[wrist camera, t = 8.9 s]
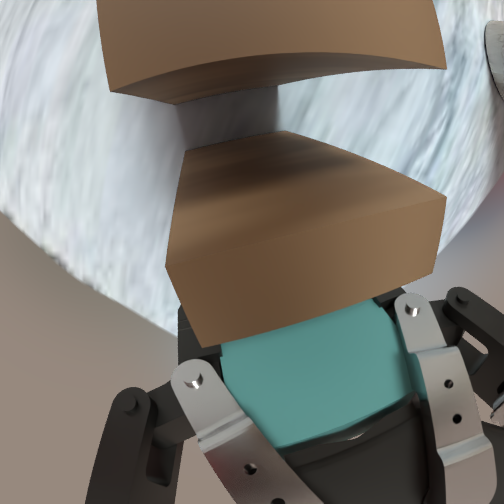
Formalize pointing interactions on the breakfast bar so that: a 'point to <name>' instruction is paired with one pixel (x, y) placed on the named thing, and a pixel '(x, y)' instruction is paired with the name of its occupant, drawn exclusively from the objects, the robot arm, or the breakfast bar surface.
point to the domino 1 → (258, 43)
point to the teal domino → (319, 377)
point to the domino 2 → (292, 233)
